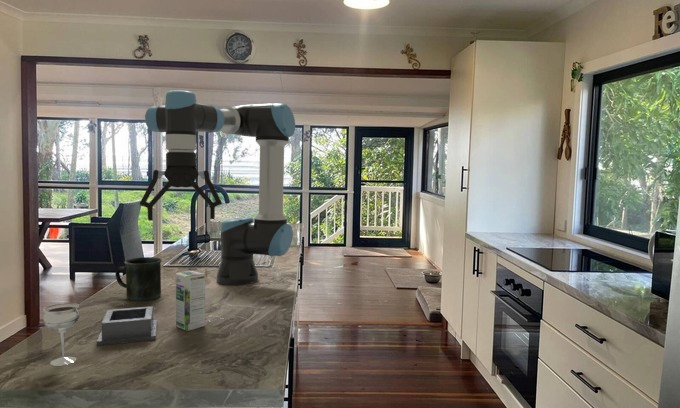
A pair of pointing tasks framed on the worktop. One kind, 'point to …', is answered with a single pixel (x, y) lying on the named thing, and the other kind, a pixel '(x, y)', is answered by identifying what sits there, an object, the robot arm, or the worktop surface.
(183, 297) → the syrup box
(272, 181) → the robot arm
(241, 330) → the worktop surface
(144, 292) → the mug
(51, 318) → the wineglass
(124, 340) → the socket block
